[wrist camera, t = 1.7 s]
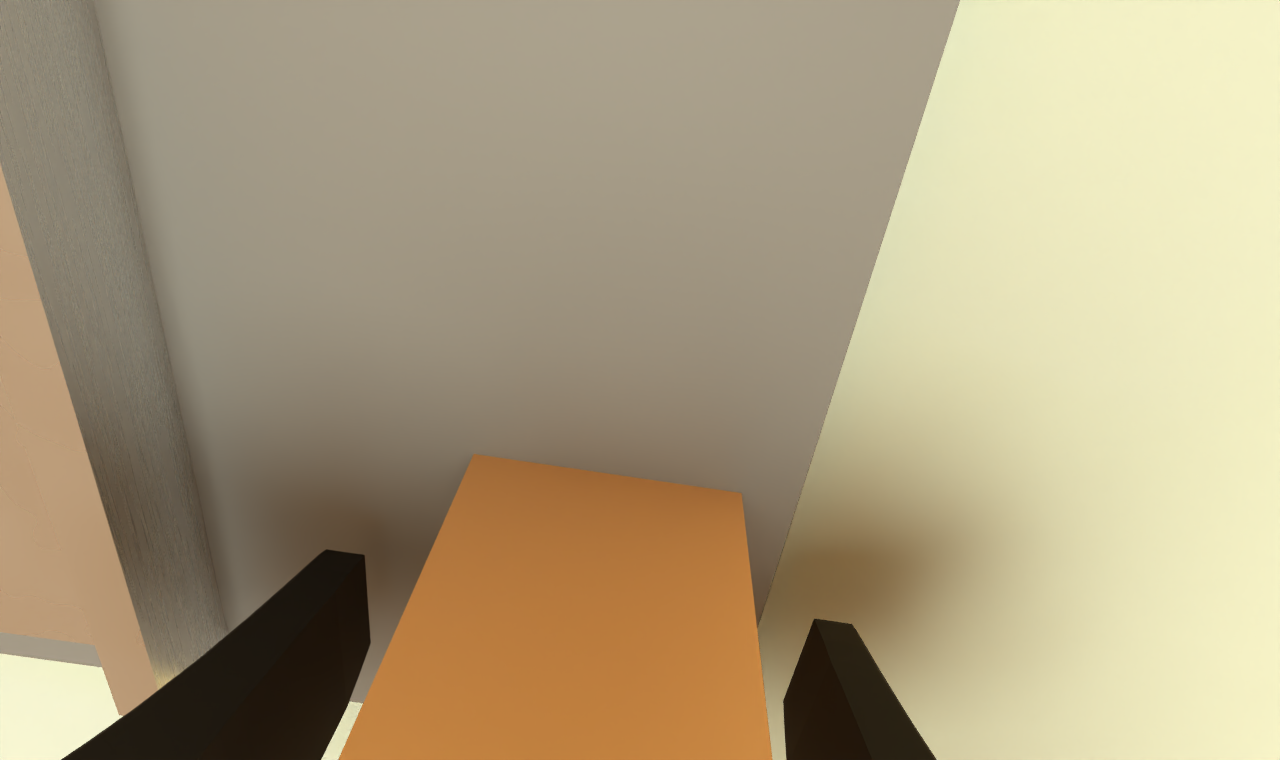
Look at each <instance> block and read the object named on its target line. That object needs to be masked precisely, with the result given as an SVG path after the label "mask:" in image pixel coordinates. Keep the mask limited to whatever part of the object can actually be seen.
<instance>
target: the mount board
mask: <svg viewBox="0 0 1280 760" xmlns="http://www.w3.org/2000/svg"><path fill="white" fill-rule="evenodd" d="M959 2H960V0H94V3H95V8H96V13H97V17H98V22H99V27H100V32H101V36H102V41H103V46H104V50H105V55H106V60H107V65H108V69H109V74H110V79H111V83H112V88H113V93H114V97H115V102H116V107H117V112H118V116H119V121H120V126H121V130H122V135H123V140H124V145H125V149H126V154H127V159H128V163H129V168H130V173H131V178H132V182H133V187H134V192H135V196H136V201H137V206H138V211H139V215H140V220H141V225H142V229H143V234H144V239H145V243H146V248H147V253H148V258H149V262H150V267H151V272H152V276H153V281H154V286H155V291H156V295H157V300H158V305H159V309H160V314H161V319H162V324H163V328H164V333H165V338H166V342H167V347H168V352H169V357H170V361H171V366H172V371H173V375H174V380H175V385H176V390H177V394H178V399H179V404H180V408H181V413H182V418H183V422H184V427H185V432H186V437H187V441H188V446H189V451H190V455H191V460H192V465H193V470H194V474H195V479H196V484H197V488H198V493H199V498H200V503H201V507H202V512H203V517H204V521H205V526H206V531H207V536H208V540H209V545H210V550H211V554H212V559H213V564H214V568H215V573H216V578H217V583H218V587H219V592H220V597H221V601H222V606H223V611H224V616H225V620H226V625H227V630H228V634H229V633H230V632H231V631H232V630H233V629H235V628H236V627H237V626H238V625H239V624H241V623H242V622H243V621H244V620H245V619H247V618H248V617H249V616H250V615H251V614H252V613H254V612H255V611H256V610H257V609H258V608H259V607H260V606H262V605H263V604H264V603H265V602H266V601H267V600H268V599H270V598H271V597H272V596H273V595H274V594H275V593H276V592H278V591H279V590H280V589H281V588H282V587H283V586H284V585H285V584H286V583H288V582H289V581H290V580H291V579H292V578H293V577H294V576H295V575H297V574H298V573H299V572H300V571H301V570H302V569H303V568H304V567H305V566H306V565H308V564H309V563H310V562H311V561H312V560H313V559H314V558H315V557H317V556H318V555H319V554H320V553H322V552H323V551H325V550H326V549H327V550H334V551H341V552H348V553H355V554H363V555H365V566H366V581H367V596H368V610H369V625H370V639H371V644H370V647H369V650H368V652H367V655H366V658H365V661H364V663H363V666H362V669H361V672H360V674H359V677H358V680H357V682H356V685H355V688H354V690H353V693H352V695H351V698H350V701H351V702H359V703H364V701H365V698H366V696H367V694H368V692H369V689H370V687H371V685H372V683H373V680H374V678H375V676H376V674H377V671H378V669H379V667H380V664H381V662H382V660H383V658H384V655H385V653H386V651H387V649H388V646H389V644H390V642H391V640H392V637H393V635H394V633H395V631H396V628H397V626H398V624H399V622H400V619H401V617H402V615H403V612H404V610H405V608H406V606H407V603H408V601H409V599H410V597H411V594H412V592H413V590H414V588H415V585H416V583H417V581H418V579H419V576H420V574H421V572H422V570H423V567H424V565H425V563H426V560H427V558H428V556H429V554H430V551H431V549H432V547H433V545H434V542H435V540H436V538H437V536H438V533H439V531H440V529H441V527H442V524H443V522H444V520H445V517H446V515H447V513H448V511H449V508H450V506H451V504H452V502H453V499H454V497H455V495H456V493H457V490H458V488H459V486H460V484H461V481H462V479H463V477H464V475H465V472H466V470H467V468H468V465H469V463H470V461H471V459H472V456H473V454H478V455H485V456H492V457H498V458H505V459H512V460H519V461H526V462H533V463H539V464H546V465H553V466H560V467H567V468H574V469H580V470H587V471H594V472H601V473H608V474H615V475H622V476H628V477H635V478H642V479H649V480H656V481H663V482H669V483H676V484H683V485H690V486H697V487H704V488H710V489H717V490H724V491H731V492H738V493H742V502H743V510H744V519H745V527H746V536H747V545H748V553H749V562H750V571H751V579H752V588H753V597H754V605H755V614H756V623H757V628H758V625H759V622H760V618H761V615H762V612H763V609H764V606H765V603H766V600H767V597H768V594H769V591H770V587H771V584H772V581H773V578H774V575H775V572H776V569H777V566H778V563H779V560H780V556H781V553H782V550H783V547H784V544H785V541H786V538H787V535H788V532H789V529H790V525H791V522H792V519H793V516H794V513H795V510H796V507H797V504H798V501H799V498H800V494H801V491H802V488H803V485H804V482H805V479H806V476H807V473H808V470H809V467H810V464H811V460H812V457H813V454H814V451H815V448H816V445H817V442H818V439H819V436H820V433H821V429H822V426H823V423H824V420H825V417H826V414H827V411H828V408H829V405H830V402H831V398H832V395H833V392H834V389H835V386H836V383H837V380H838V377H839V374H840V371H841V367H842V364H843V361H844V358H845V355H846V352H847V349H848V346H849V343H850V340H851V336H852V333H853V330H854V327H855V324H856V321H857V318H858V315H859V312H860V309H861V305H862V302H863V299H864V296H865V293H866V290H867V287H868V284H869V281H870V278H871V274H872V271H873V268H874V265H875V262H876V259H877V256H878V253H879V250H880V247H881V244H882V240H883V237H884V234H885V231H886V228H887V225H888V222H889V219H890V216H891V213H892V209H893V206H894V203H895V200H896V197H897V194H898V191H899V188H900V185H901V182H902V178H903V175H904V172H905V169H906V166H907V163H908V160H909V157H910V154H911V151H912V147H913V144H914V141H915V138H916V135H917V132H918V129H919V126H920V123H921V120H922V116H923V113H924V110H925V107H926V104H927V101H928V98H929V95H930V92H931V89H932V86H933V82H934V79H935V76H936V73H937V70H938V67H939V64H940V61H941V58H942V55H943V51H944V48H945V45H946V42H947V39H948V36H949V33H950V30H951V27H952V24H953V20H954V17H955V14H956V11H957V8H958V5H959ZM0 653H2V654H9V655H16V656H23V657H31V658H38V659H45V660H53V661H60V662H67V663H74V664H82V665H89V666H96V667H102V665H101V662H100V659H99V656H98V653H97V651H96V648H95V645H90V644H82V643H75V642H68V641H61V640H53V639H46V638H39V637H32V636H24V635H17V634H10V633H3V632H0Z"/></svg>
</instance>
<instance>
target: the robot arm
mask: <svg viewBox="0 0 1280 760" xmlns="http://www.w3.org/2000/svg"><path fill="white" fill-rule="evenodd" d="M370 644H371V639H370V625H369V610H368V596H367V581H366V566H365V555H363V554H355V553H348V552H341V551H334V550H327V549H326V550H325V551H323V552H322V553H320V554H319V555H318V556H317V557H315V558H314V559H313V560H312V561H311V562H310V563H309V564H308V565H306V566H305V567H304V568H303V569H302V570H301V571H300V572H299V573H298V574H297V575H295V576H294V577H293V578H292V579H291V580H290V581H289V582H288V583H286V584H285V585H284V586H283V587H282V588H281V589H280V590H279V591H278V592H276V593H275V594H274V595H273V596H272V597H271V598H270V599H268V600H267V601H266V602H265V603H264V604H263V605H262V606H260V607H259V608H258V609H257V610H256V611H255V612H254V613H252V614H251V615H250V616H249V617H248V618H247V619H245V620H244V621H243V622H242V623H241V624H239V625H238V626H237V627H236V628H235V629H233V630H232V631H231V632H230V633H229V634H228V635H226V636H225V637H224V638H223V639H222V640H220V641H219V642H218V643H217V644H216V645H214V646H213V647H212V648H211V649H210V650H208V651H207V652H206V653H205V654H204V655H202V656H201V657H200V658H199V659H197V660H196V661H195V662H194V663H192V664H191V665H190V666H189V667H187V668H186V669H185V670H183V671H182V672H181V673H180V674H178V675H177V676H176V677H174V678H173V679H172V680H170V681H169V682H168V683H167V684H165V685H164V686H163V687H161V688H160V689H159V690H158V691H156V692H155V693H154V694H152V695H151V696H150V697H148V698H147V699H146V700H145V701H143V702H142V703H141V704H139V705H138V706H137V707H135V708H134V709H133V710H131V711H130V712H129V713H127V714H126V715H124V716H123V717H122V718H120V719H119V720H118V721H116V722H115V723H113V724H112V725H111V726H109V727H108V728H106V729H105V730H104V731H102V732H101V733H99V734H98V735H97V736H95V737H94V738H92V739H91V740H89V741H88V742H86V743H85V744H83V745H82V746H81V747H79V748H78V749H76V750H75V751H73V752H72V753H70V754H69V755H67V756H66V757H64V758H63V759H61V760H321V759H322V757H323V755H324V753H325V751H326V749H327V747H328V745H329V743H330V741H331V739H332V737H333V735H334V733H335V731H336V729H337V727H338V725H339V722H340V720H341V718H342V716H343V714H344V712H345V710H346V708H347V706H348V703H349V701H350V698H351V695H352V693H353V690H354V688H355V685H356V682H357V680H358V677H359V674H360V672H361V669H362V666H363V663H364V661H365V658H366V655H367V652H368V650H369V647H370ZM783 704H784V725H785V743H786V758H787V760H936V758H935V756H934V755H933V753H932V752H931V750H930V749H929V747H928V746H927V744H926V743H925V741H924V740H923V738H922V737H921V735H920V734H919V732H918V731H917V729H916V728H915V726H914V724H913V723H912V721H911V720H910V718H909V717H908V715H907V713H906V712H905V710H904V709H903V707H902V705H901V704H900V702H899V701H898V699H897V697H896V696H895V694H894V692H893V691H892V689H891V688H890V686H889V684H888V683H887V681H886V679H885V678H884V676H883V674H882V673H881V671H880V669H879V668H878V666H877V664H876V663H875V661H874V659H873V658H872V656H871V654H870V653H869V651H868V649H867V647H866V646H865V644H864V642H863V641H862V639H861V637H860V636H859V634H858V632H857V631H856V629H855V628H854V626H853V625H852V624H848V623H841V622H834V621H827V620H820V619H814V621H813V623H812V626H811V629H810V631H809V634H808V637H807V639H806V642H805V645H804V647H803V650H802V653H801V655H800V658H799V661H798V663H797V666H796V668H795V671H794V674H793V676H792V679H791V682H790V684H789V687H788V690H787V692H786V695H785V698H784V700H783Z"/></svg>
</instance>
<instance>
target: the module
mask: <svg viewBox="0 0 1280 760" xmlns="http://www.w3.org/2000/svg"><path fill="white" fill-rule="evenodd" d="M338 760H772V752H771V743H770V735H769V726H768V718H767V709H766V700H765V692H764V683H763V674H762V666H761V657H760V648H759V640H758V631H757V623H756V614H755V605H754V597H753V588H752V579H751V571H750V562H749V553H748V545H747V536H746V527H745V519H744V510H743V502H742V493H738V492H731V491H724V490H717V489H710V488H704V487H697V486H690V485H683V484H676V483H669V482H663V481H656V480H649V479H642V478H635V477H628V476H622V475H615V474H608V473H601V472H594V471H587V470H580V469H574V468H567V467H560V466H553V465H546V464H539V463H533V462H526V461H519V460H512V459H505V458H498V457H492V456H485V455H478V454H473V456H472V459H471V461H470V463H469V465H468V468H467V470H466V472H465V475H464V477H463V479H462V481H461V484H460V486H459V488H458V490H457V493H456V495H455V497H454V499H453V502H452V504H451V506H450V508H449V511H448V513H447V515H446V517H445V520H444V522H443V524H442V527H441V529H440V531H439V533H438V536H437V538H436V540H435V542H434V545H433V547H432V549H431V551H430V554H429V556H428V558H427V560H426V563H425V565H424V567H423V570H422V572H421V574H420V576H419V579H418V581H417V583H416V585H415V588H414V590H413V592H412V594H411V597H410V599H409V601H408V603H407V606H406V608H405V610H404V612H403V615H402V617H401V619H400V622H399V624H398V626H397V628H396V631H395V633H394V635H393V637H392V640H391V642H390V644H389V646H388V649H387V651H386V653H385V655H384V658H383V660H382V662H381V664H380V667H379V669H378V671H377V674H376V676H375V678H374V680H373V683H372V685H371V687H370V689H369V692H368V694H367V696H366V698H365V701H364V703H363V705H362V707H361V710H360V712H359V714H358V716H357V719H356V721H355V723H354V726H353V728H352V730H351V732H350V735H349V737H348V739H347V741H346V744H345V746H344V748H343V750H342V753H341V755H340V757H339V759H338Z"/></svg>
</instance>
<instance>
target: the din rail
mask: <svg viewBox="0 0 1280 760" xmlns="http://www.w3.org/2000/svg"><path fill="white" fill-rule="evenodd" d="M0 632H3V633H10V634H17V635H24V636H32V637H39V638H46V639H53V640H61V641H68V642H75V643H82V644H90V645H95V648H96V651H97V653H98V656H99V659H100V662H101V665H102V668H103V670H104V673H105V676H106V679H107V682H108V685H109V687H110V690H111V693H112V696H113V699H114V702H115V705H116V707H117V710H118V713H119V715H123V716H124V715H126V714H127V713H129V712H130V711H131V710H133V709H134V708H135V707H137V706H138V705H139V704H141V703H142V702H143V701H145V700H146V699H147V698H148V697H150V696H151V695H152V694H154V693H155V692H156V691H158V690H159V689H160V688H161V687H163V686H164V685H165V684H167V683H168V682H169V681H170V680H172V679H173V678H174V677H176V676H177V675H178V674H180V673H181V672H182V671H183V670H185V669H186V668H187V667H189V666H190V665H191V664H192V663H194V662H195V661H196V660H197V659H199V658H200V657H201V656H202V655H204V654H205V653H206V652H207V651H208V650H210V649H211V648H212V647H213V646H214V645H216V644H217V643H218V642H219V641H220V640H222V639H223V638H224V637H225V636H226V635H228V630H227V625H226V620H225V616H224V611H223V606H222V601H221V597H220V592H219V587H218V583H217V578H216V573H215V568H214V564H213V559H212V554H211V550H210V545H209V540H208V536H207V531H206V526H205V521H204V517H203V512H202V507H201V503H200V498H199V493H198V488H197V484H196V479H195V474H194V470H193V465H192V460H191V455H190V451H189V446H188V441H187V437H186V432H185V427H184V422H183V418H182V413H181V408H180V404H179V399H178V394H177V390H176V385H175V380H174V375H173V371H172V366H171V361H170V357H169V352H168V347H167V342H166V338H165V333H164V328H163V324H162V319H161V314H160V309H159V305H158V300H157V295H156V291H155V286H154V281H153V276H152V272H151V267H150V262H149V258H148V253H147V248H146V243H145V239H144V234H143V229H142V225H141V220H140V215H139V211H138V206H137V201H136V196H135V192H134V187H133V182H132V178H131V173H130V168H129V163H128V159H127V154H126V149H125V145H124V140H123V135H122V130H121V126H120V121H119V116H118V112H117V107H116V102H115V97H114V93H113V88H112V83H111V79H110V74H109V69H108V65H107V60H106V55H105V50H104V46H103V41H102V36H101V32H100V27H99V22H98V17H97V13H96V8H95V3H94V0H0Z"/></svg>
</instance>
